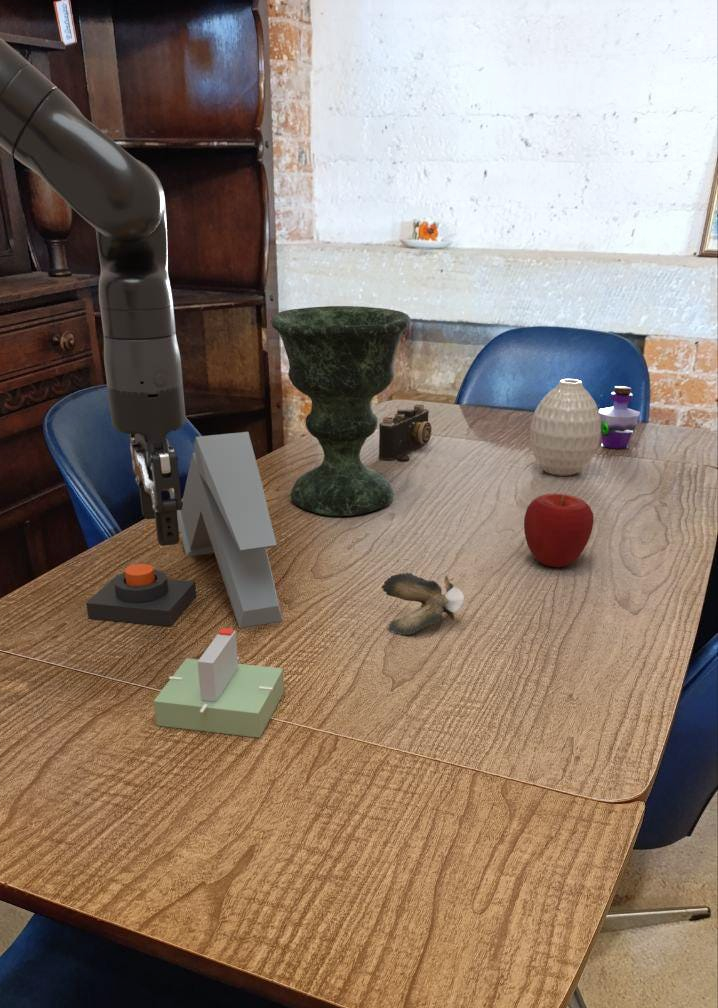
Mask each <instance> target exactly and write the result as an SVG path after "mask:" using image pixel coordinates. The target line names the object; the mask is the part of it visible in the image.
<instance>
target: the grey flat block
mask: <svg viewBox="0 0 718 1008" xmlns="http://www.w3.org/2000/svg"><path fill="white" fill-rule="evenodd" d="M238 657H239V656H238V643H237V631H236V630H234V629H233V628H224V627H223V628H220V630H219V631H218V633H217V635H216V636H215V637H214V638H213V640H211V643H210V644H209V645H208V647H207V648H206V649H205V650H204V652H203V654H202V655H201V656H200V658H198V672H199V683H200V693H201V700H204V701H212V702H216V701H217V700H218V698H219V697H220V695H221V694H222V692H223V691H224V689H225V687H226V686H227V684H228V683H229V681H230V680H231V678H232V677H233V675H234V674H235V672H236V671H237V669H238V664H239V659H238Z"/></svg>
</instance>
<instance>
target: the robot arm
mask: <svg viewBox="0 0 718 1008" xmlns="http://www.w3.org/2000/svg"><path fill="white" fill-rule="evenodd" d="M0 147H1V148H3V149H4V150H5V151H6V152H7V153H9V154H10V155H11V156H13V157H14V159H16V160H17V161H18V162H20V163H21V164H22V165H24V166H25V167H27V168H28V169H30V171H32V172H34V173H35V174H36V175H38V176H39V177H40V178H41V179H42V180H43V181H44V182H45V183H46V184H47V185H48V186H49V187H50V188H51V189H52V190H53V191H54V192H55V193H56V194H57V195H58V196H59V197H60V198H61V199H62V200H63V201H64V202H65V203H66V204H67V205H68V206H69V207H70V208H72V209H73V210H74V211H75V212H76V213H77V214H78V215H79V216H80V217H81V218H82V219H83V220H84V221H85V222H87V223H88V224H89V225H90V226H91V227H92V228H94V229H95V234H96V243H97V251H98V258H99V265H100V275H99V281H98V302H99V309H100V310H99V311H100V317H101V325H102V332H103V333H102V334H103V365H104V371H105V372H104V373H105V379H106V387H107V394H108V404H109V410H110V418H111V425H112V427H113V429H114V430H116V431H117V432H118V433H119V432H120V433H123V434H127V435H128V436H129V450H130V455H131V466H132V468H131V472H132V473H133V475H134V476H135V483H136V484H137V487H138V488H139V498H140V505H141V515H142V517H143V518H144V519H145V520H153V519H154V522H155V529H156V538H157V542H158V544H159V545H160V546H162V547H166V546H167V547H168V546H173V545H174V546H175V545H178V544H179V543H180V529H179V524H178V518H177V510H182V506H183V503H182V500H183V499H182V492H181V491H182V490H181V483H180V473H179V463H178V460H179V457H178V455H177V452H176V451H175V448H174V446H173V445H170V442H169V440H168V438H167V437H168V434H170V433H171V432H173V431H174V432H175V431H178V430H180V429H182V428H183V427H184V426H185V425H186V422H187V418H186V405H185V396H184V384H183V370H182V360H181V359H182V358H181V354H180V348H179V344H178V340H177V334H176V331H177V329H176V320H175V310H174V309H175V308H174V300H173V292H172V287H171V281H170V277H169V276H170V275H169V268H168V267H169V263H168V262H169V260H168V259H169V258H168V255H169V254H168V229H167V228H168V227H167V226H168V225H167V208H166V196H165V191H164V188H163V186H162V182H161V181H160V179H159V177H158V176H157V174H156V173H155V172H154V171H153V170H152V169H151V167H149V165H147V164H146V163H145V162H142V161H141V160H139V159H137V158H135V157H134V156H133V155H132V154H131V153H129V152H128V151H126V150H125V148H123V147H121V146H120V145H119V144H118V143H117V142H115V141H114V140H113V139H112V138H111V137H110V136H109V135H107V134H106V133H105V132H103V131H102V130H101V129H100V128H98V127H97V126H96V125H95V124H93V123H92V122H91V121H90V120H89V119H87V117H85V116H84V115H83V114H82V111H80V109H79V107H77V106H76V104H75V103H74V102H73V101H72V99H70V98H69V97H68V96H67V95H66V94H65V93H64V92H63V91H62V90H61V89H60V88H58V86H56V85H55V84H54V83H53V82H52V81H51V80H50V79H49V78H47V77H46V75H44V74H43V73H42V72H41V71H40V70H39V69H37V68H36V67H35V66H34V65H33V64H31V63H30V62H29V61H28V60H27V59H26V58H25V57H24V56H23V55H21V54H20V53H19V52H17V50H16V49H14V47H12V46H11V45H9V44H8V43H7V42H6V41H5V40H4V39H2V38H1V37H0ZM162 492H168V493H169V497H170V498H168V499H163V497H162Z"/></svg>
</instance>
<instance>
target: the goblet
mask: <svg viewBox="0 0 718 1008" xmlns="http://www.w3.org/2000/svg"><path fill="white" fill-rule="evenodd" d="M411 322H412V321H411V317H410V316H409V314H407V313H406V312H404V311H403V312H402V311H400V310H395V309H390V308H382V307H371V306H359V305H358V306H357V305H328V306H327V305H326V306H312V307H301V308H293V309H288V310H281V311H279V312H276V313H274V315H272V316H271V319H270V323H271V326H272V328H273V329H274V330H275V331H277V332H278V334H279V336H280V338H281V340H282V343H283V348H284V350H285V353H286V356H287V360H288V365H289V369H288V373H287V376H288V379H289V381H290V382H291V384H292V386H293V387H294V388H295V389H297V390H298V391H299V392H300V393H302V394H303V395H305V396H307V397H309V399H310V402H311V408H310V409H311V410H310V412H309V414H307V416H306V417H305V426H306V430H307V431H308V433H309V434H310V435H311V436H312V437H313V438H316V440H317V442H318V444H319V445H320V447H321V449H322V452H323V460H322V462H321V464H320V465H319V466H317V467H315V468H313V469H311V470H308V471H306V472H305V473H304V474H301V476H299V477H298V478H297V479H296V481H295V482H294V484H293V486H292V488H291V491H290V495H289V496H290V500H291V501H292V502H293V503H294V504H295V505H296V506H298V507H300V508H301V509H304V510H306V511H309V512H312V513H315V514H318V515H322V516H329V517H351V516H352V517H353V516H359V515H365V514H367V513H371V512H373V511H377V510H380V509H381V508H384V507H387V505H389V504H390V503H392V501H393V500H394V498H395V494H394V490H393V487H392V485H391V483H390V482H389V481H388V479H387V478H386V477H385V476H384V475H382V474H381V473H380V472H378V471H377V470H374V469H371V468H370V467H367V466H365V464H364V463H363V462H362V460H361V450H362V448H363V446H364V445H365V442H366V440H367V439H368V438H370V437H371V436H372V435H373V434H374V433H376V432H375V431H376V430H377V428H378V425H379V424H378V423H379V420H378V417H377V415H376V414H375V413H374V411H373V408H372V401H373V399H374V397H376V396H378V395H379V394H380V393H383V392H384V391H385V390H386V389H387V388H388V387H389V386H390V385H391V384H392V382H393V381H394V376H395V371H394V361H395V357H396V354H397V351H398V347H399V344H400V340H401V338H402V335H403V334H404V332H405V331H406V330H407V329H408V328H409V327H410V325H411Z"/></svg>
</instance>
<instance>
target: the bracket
mask: <svg viewBox="0 0 718 1008" xmlns="http://www.w3.org/2000/svg"><path fill="white" fill-rule="evenodd" d="M193 448H194V452H192V454H191V460H190V464H189V468H188V473H187V476H186V477H187V478H186V482H185V487H184V492H183V496H182V499H181V500H182V503H183V506H182V510H177V518H178V529H179V534H180V536H181V540H182V545H183V549H184V552H185V553H184V554H185V557H193V556H201V555H208V554H214V556H215V559H216V562H217V564H218V569H219V571H220V574H221V577H222V581H223V583H224V586H225V589H226V592H227V595H228V599H229V601H230V605H231V607H232V608H231V609H232V611H233V614H234V617H235V620H236V623H237V625H238V629H242V628H243V629H245V628H249V627H254V626H261V625H267V624H272V623H273V624H274V623H278V622H283V617H282V612H281V611H282V610H281V608H280V603H279V598H278V594H277V589H276V585H275V580H274V576H273V572H272V568H271V563H270V558H269V554H268V550H267V549H269V548H276V547H277V546H278V543H277V540H276V536H275V532H274V528H273V524H272V520H271V516H270V512H269V508H268V504H267V500H266V499H267V498H266V495H265V491H264V486H263V482H262V478H261V474H260V470H259V466H258V462H257V458H256V455H255V452H254V448H253V444H252V440H251V437H250V432H249V431H242V432H233V433H232V432H231V433H221V434H210V435H201V436H200V435H199V436H195V439H194V444H193Z"/></svg>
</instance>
